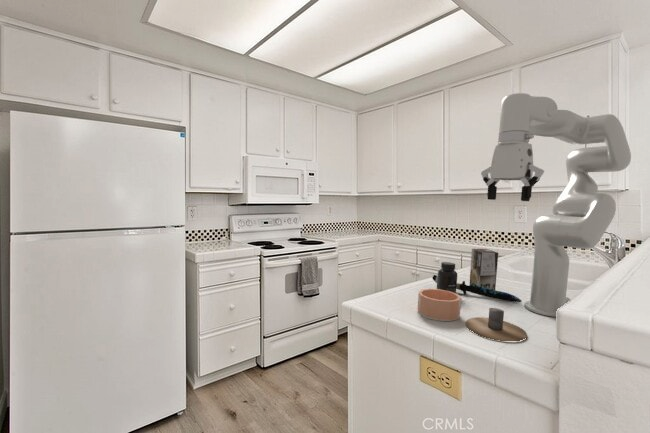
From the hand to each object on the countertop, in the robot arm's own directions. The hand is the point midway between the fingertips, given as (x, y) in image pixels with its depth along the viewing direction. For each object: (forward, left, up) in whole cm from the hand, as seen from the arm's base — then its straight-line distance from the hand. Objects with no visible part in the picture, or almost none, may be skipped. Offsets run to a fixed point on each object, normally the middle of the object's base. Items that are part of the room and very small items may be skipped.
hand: (507, 200), depth 94 cm
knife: (-15, -20, -36) cm, 44 cm away
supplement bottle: (-5, -24, -36) cm, 44 cm away
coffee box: (-23, -23, -36) cm, 49 cm away
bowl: (+12, -11, -36) cm, 40 cm away
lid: (+6, +4, -36) cm, 37 cm away
